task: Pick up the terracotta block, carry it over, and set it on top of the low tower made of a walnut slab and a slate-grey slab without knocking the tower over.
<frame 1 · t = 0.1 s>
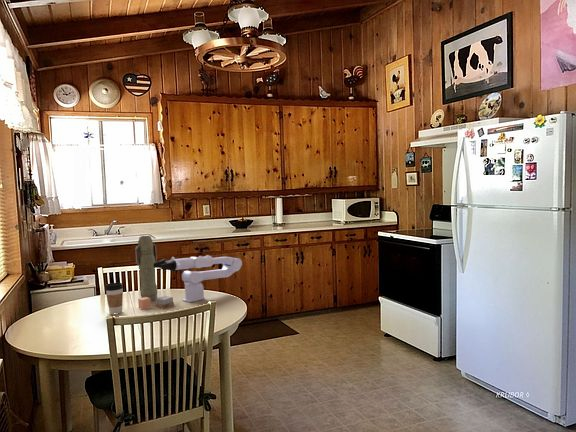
hand: (157, 266, 234), 22 cm above the table, tool horizontal, fingers open, 7 cm apart
terracotta block: (144, 307, 238), on the table
stone statue: (149, 299, 255), on the table
tower base: (164, 307, 239), on the table
coffee cup: (116, 313, 230), on the table
tower middle: (164, 302, 238), point 2 cm above the table
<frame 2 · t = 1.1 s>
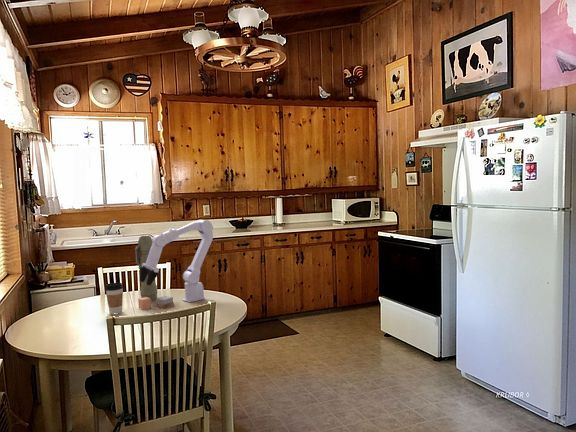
hand: (145, 283, 235), 13 cm above the table, tool tilted 20°, fingers open, 7 cm apart
tower base: (164, 307, 239), on the table, touching tower middle
tower middle: (164, 302, 239), point 2 cm above the table, touching tower base
everything else where it was.
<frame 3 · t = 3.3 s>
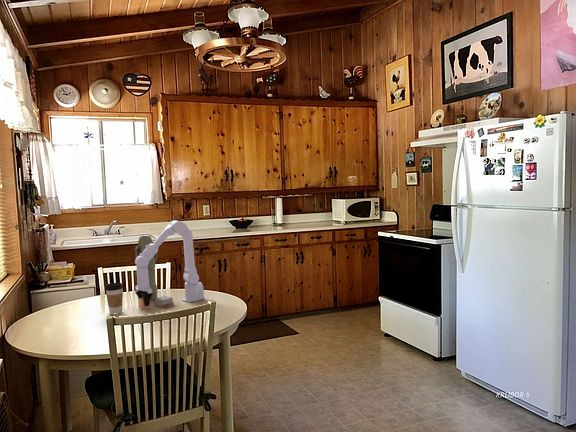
hand: (144, 305, 237), 1 cm above the table, tool pointing down, fingers closed on terracotta block, 4 cm apart
terracotta block: (144, 307, 238), on the table, touching gripper
everything else where it was.
when the fingers open (7 cm above the table, at t = 6.7 s): terracotta block drops 1 cm, point 5 cm above the table.
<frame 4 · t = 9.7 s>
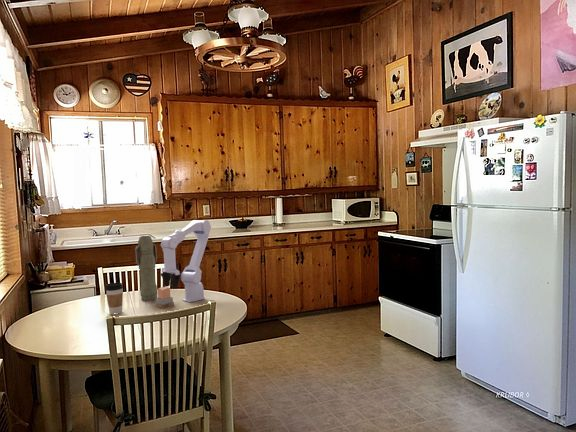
hand: (171, 287, 235), 10 cm above the table, tool pointing down, fingers open, 7 cm apart
terracotta block: (164, 297, 239), point 5 cm above the table
everything else where it was.
at the end: terracotta block 0.0 cm off-centre on the tower base, point 5.0 cm above the tower base's base; tower middle 0.1 cm off-centre on the tower base, point 2.5 cm above the tower base's base; the gripper is holding nothing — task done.
